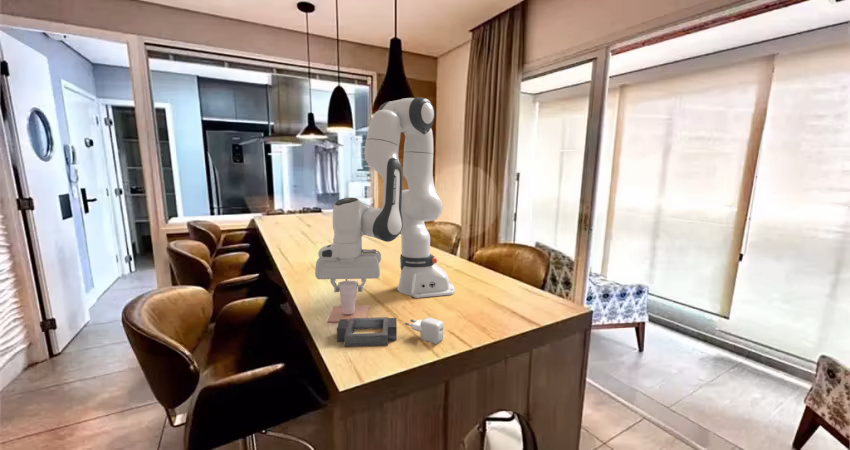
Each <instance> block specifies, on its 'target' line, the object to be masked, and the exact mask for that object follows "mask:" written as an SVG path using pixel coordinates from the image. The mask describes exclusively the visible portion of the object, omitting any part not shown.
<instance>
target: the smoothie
mask: <svg viewBox="0 0 850 450" xmlns="http://www.w3.org/2000/svg"><path fill="white" fill-rule="evenodd" d="M337 285H338V287H339V290H340V291H339V297H340V303H341V305H340V306H342V312H343V314H352V313H354V310H355V306H356V301H357V293H358V285H359V282H358V281H356V280H348V279H344V280H343V281H340V282H338V284H337Z"/></svg>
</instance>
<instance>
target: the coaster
mask: <svg viewBox="0 0 850 450" xmlns="http://www.w3.org/2000/svg"><path fill="white" fill-rule="evenodd" d="M369 310H370V305H369V304H365V305H363V304H362V305H360V304H359V305H355V310H354V313H352V314H343V312H342V305H333V307H332V309H331V312H330V314H329V316H328V318H327V321H326V324H328V325H330V324H338V323H339V321H340V319H348V322H349V318H369V317H368V316H369Z"/></svg>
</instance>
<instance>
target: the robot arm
mask: <svg viewBox="0 0 850 450" xmlns="http://www.w3.org/2000/svg"><path fill="white" fill-rule="evenodd" d="M435 114H436V112H435V108H434V106H433V104H432V102H431V101H430V100H429V99H428V98H424V97H406V98H401V99H397V100H392V101H391V100H390V101H389V100H388V101H386V102H384V103H383V104H381V105H380V106H379V108H378V109H377V111H375V113H374V114H373V115H372V117H371V120H370V123H369V127H368V129H367V134H366V140H365V143H364V160H365V162H366V164H367V165H368V166H369V167H370V168H371V169H372V170H374V171H376V172H377V173H378V174H379V175H380V176H381V178H382V180H383V192H382V205H381V208H379V207H373V206H371V205H367V204H365V203H363V202H362V201H360V200H359V198H357V197H345V198H340V199H338V200H337V201H336V202H335V203H334V205H333V207H332V208H333V210H332V230H333V238H332V243H331V244H328V245H324V246H322V247H321V248H320V249H319V250H318V253H317V254H318V258H317V259H316V262H315V268H314V269H315V271H314V276H315V278H316V279H317V280H329V281H330V284H331V285H332V286H333V288H334V289H333V292H334V293H340V290H339V287H338V284H337V282H336V280H345V279H347V280H354V279H355V280H360V279H361V283H360V284H358V287H357V293H360V292H363V291H364V286H365V284H366V282H367V279H368V280H369V279H372V280H373V279H375V280H376V279H378V278H380V276H381V267H380V263H381V260H382V253H381V252H380V251H379V250H377V249H369V248H368V249H363V238H362V237H363V236H366V237H370V238H375V239H377V240H380V241H383V242H386V243H389V242H392V241H394V240H395V239H396V238H397V237H399V236H400V237H401V245H400V246H401V254H400V257H399V268H400V275H399V281H398V285H397V289H396V290H397V291H398V293H400V294H404V295H407V296H411V297H413V298H415V299H419V298H429V297H438V296H439V297H440V296H449V295H450V296H451V295H453V294H454V293H456V292H455V291H456V290H455V286H454V284H453V283H452V282H450V279H449V276H448V274H447V272H446V271H445V270H444V269H443V268H441V267H440V266H439V265H437V262H438V259H437V257H436V256H435V255H434V254H431V235H430V232H429V230H428V229H427V227H426V225H425V222H433V221H436V220H437V219H438V218H439V217H440V216H441V214H442V213H443V207H444V206H443V205H444V204H443V201H442V200H441V198H440V197H439V195H438V193H437V190H436V185H435V181H434V176H433V175H434V171H433V169H434V135H433V130H432V126H433V123H434V120H435V116H436V115H435ZM401 133H403V134H404V145H403V160H402V161H403V164H402V163H401V162H400V160H399V149H400V142H401ZM403 176H404V177H403ZM403 178H405V179H406V182H407V183H406V184H407V187H408V189H403Z"/></svg>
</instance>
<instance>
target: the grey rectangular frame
mask: <svg viewBox="0 0 850 450" xmlns="http://www.w3.org/2000/svg"><path fill="white" fill-rule="evenodd" d="M397 328H398V327H397V317H388V316H385V317H378V316H377V317H368V318H349V322H348V319H340V321H339V323H337V327H336V342H337V343H344V348H349V347H354V348H355V347H377V346H378V347H379V346H388V345H389V341H397V337H398V336H397V333H398V332H397ZM355 330H382V332H373V333H372V332H369V333H366V332H365V333H354V331H355Z"/></svg>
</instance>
